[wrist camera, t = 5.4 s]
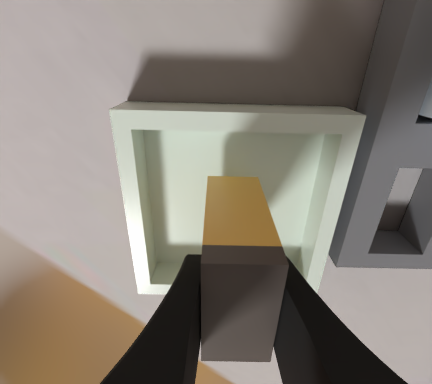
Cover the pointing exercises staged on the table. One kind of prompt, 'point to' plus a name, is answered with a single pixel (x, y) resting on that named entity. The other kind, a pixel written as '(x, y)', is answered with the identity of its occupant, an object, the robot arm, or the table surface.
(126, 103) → the parts tray
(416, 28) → the block
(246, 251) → the yellow rectangular block
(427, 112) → the block
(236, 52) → the table surface
